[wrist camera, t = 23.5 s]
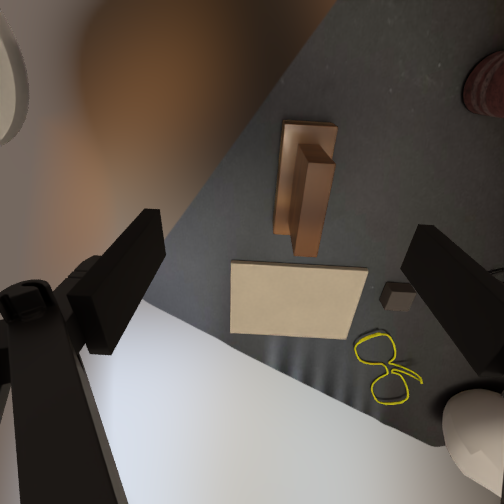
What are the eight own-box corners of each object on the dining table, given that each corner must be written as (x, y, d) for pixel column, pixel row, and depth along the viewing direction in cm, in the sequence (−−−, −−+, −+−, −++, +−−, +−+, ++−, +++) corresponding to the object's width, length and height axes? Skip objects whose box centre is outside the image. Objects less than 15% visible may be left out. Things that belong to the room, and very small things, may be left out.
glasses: (348, 335, 53) (355, 356, 49) (401, 321, 51) (413, 342, 47) (376, 403, 65) (383, 424, 61) (420, 393, 63) (431, 415, 59)
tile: (230, 328, 53) (230, 332, 53) (231, 259, 45) (230, 263, 44) (344, 335, 53) (345, 339, 53) (366, 267, 45) (368, 271, 44)
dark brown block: (379, 300, 49) (384, 310, 46) (386, 282, 46) (392, 291, 44) (401, 301, 49) (408, 311, 46) (410, 283, 46) (417, 293, 44)
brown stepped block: (312, 225, 41) (329, 273, 31) (272, 222, 41) (275, 270, 31) (331, 122, 34) (361, 141, 24) (282, 119, 34) (291, 137, 24)
